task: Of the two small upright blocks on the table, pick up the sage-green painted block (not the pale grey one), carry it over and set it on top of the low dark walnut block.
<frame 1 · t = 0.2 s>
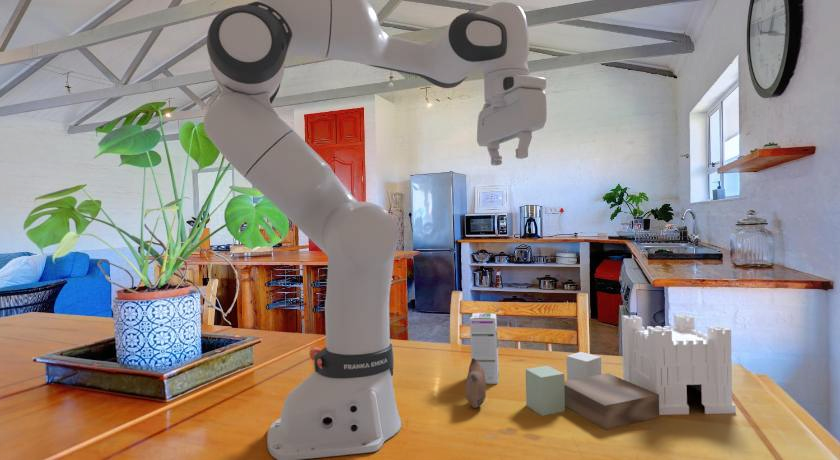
hand: (508, 161, 86), 47 cm above the table, tool pointing down, fingers open, 8 cm apart
green block: (545, 408, 82), on the table
castle model: (673, 399, 85), on the table
brown tapered rounded piece: (475, 404, 85), on the table
grey block: (584, 384, 94), on the table
walnut block: (607, 409, 81), on the table
syrup box: (485, 380, 98), on the table
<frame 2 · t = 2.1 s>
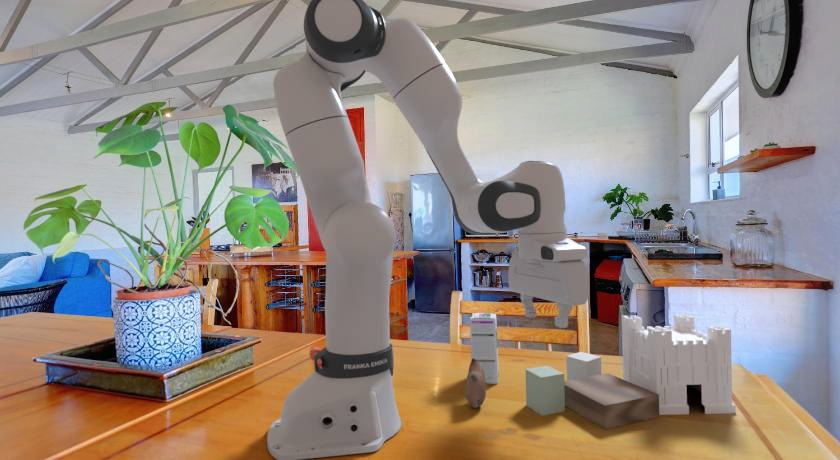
hand: (545, 321, 82), 16 cm above the table, tool pointing down, fingers open, 8 cm apart
nothing on the table moved.
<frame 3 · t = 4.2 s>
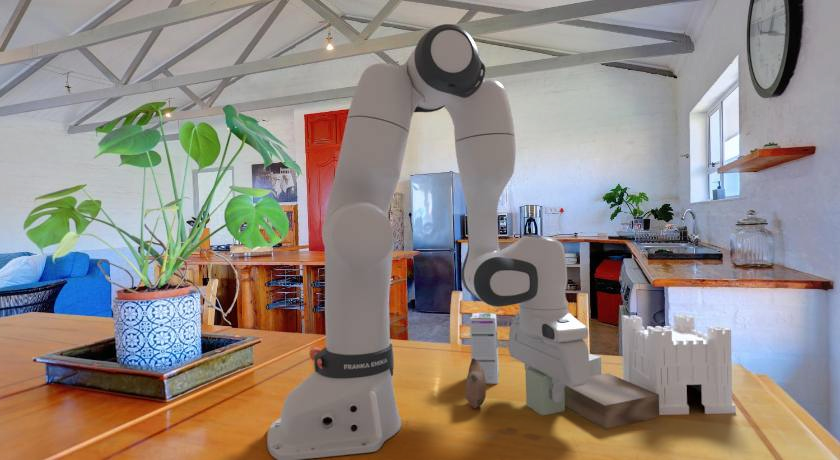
hand: (544, 394, 82), 3 cm above the table, tool pointing down, fingers closed on green block, 5 cm apart
green block: (545, 408, 82), on the table, touching gripper
everything else where it was.
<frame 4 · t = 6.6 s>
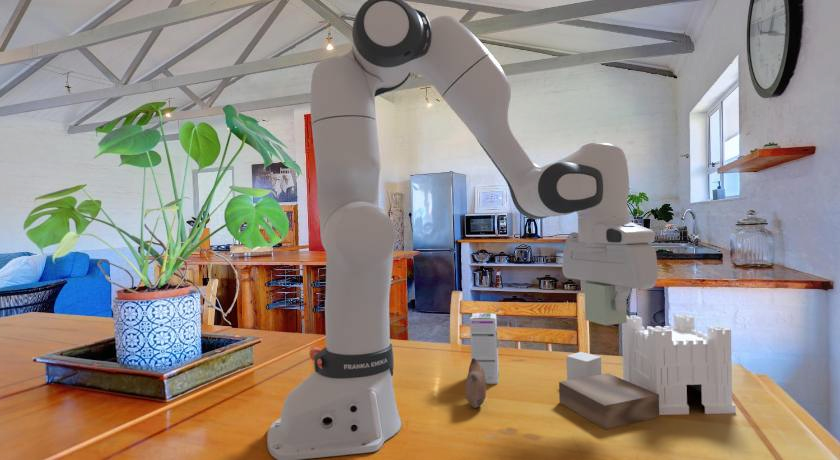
hand: (605, 307, 80), 19 cm above the table, tool pointing down, fingers closed on green block, 5 cm apart
green block: (605, 321, 81), point 16 cm above the table, touching gripper
everything else where it was.
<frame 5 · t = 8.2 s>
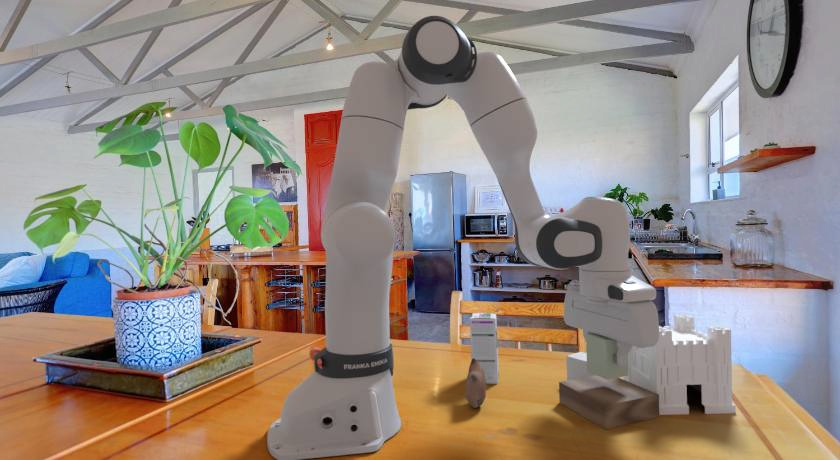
hand: (606, 359, 81), 9 cm above the table, tool pointing down, fingers closed on green block, 5 cm apart
green block: (607, 373, 81), point 7 cm above the table, touching gripper
everything else where it was.
when the fingers open (8 cm above the table, at t = 9.4 s): green block stays where it is, resting on walnut block.
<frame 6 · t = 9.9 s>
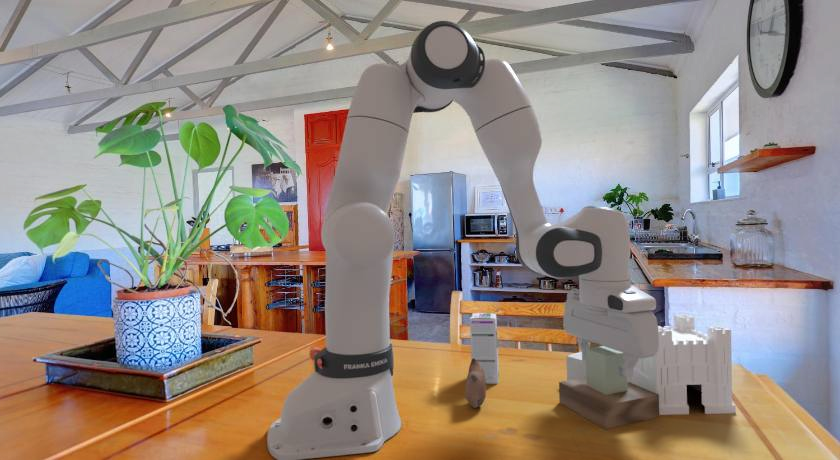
hand: (606, 368, 81), 8 cm above the table, tool pointing down, fingers open, 8 cm apart
green block: (606, 387, 81), point 4 cm above the table, touching walnut block
everything else where it was.
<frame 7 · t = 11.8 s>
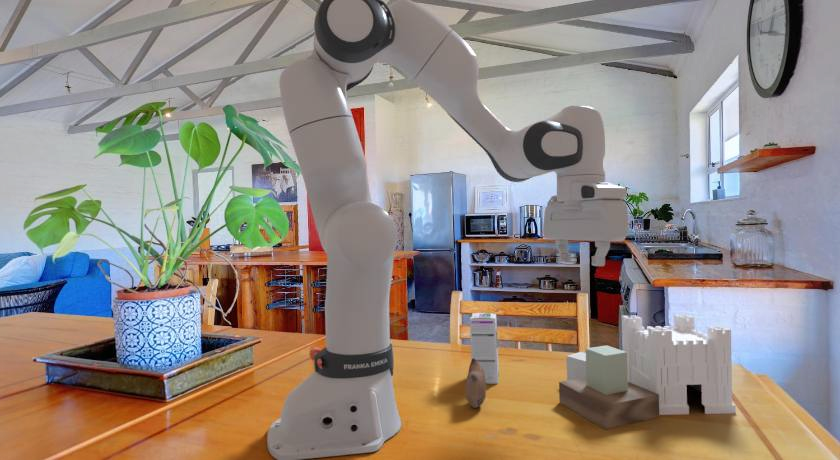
hand: (580, 263, 84), 27 cm above the table, tool pointing down, fingers open, 8 cm apart
nothing on the table moved.
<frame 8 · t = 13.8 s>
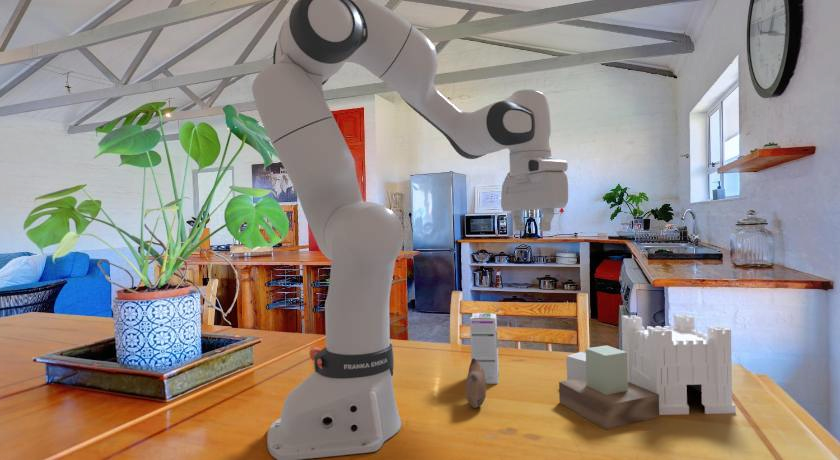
hand: (531, 231, 95), 33 cm above the table, tool pointing down, fingers open, 8 cm apart
nothing on the table moved.
at the end: green block inside the target area on the walnut block (0.0 cm from its centre), point 4.0 cm above the walnut block's base; green block tilted 0°; the gripper is holding nothing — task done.
